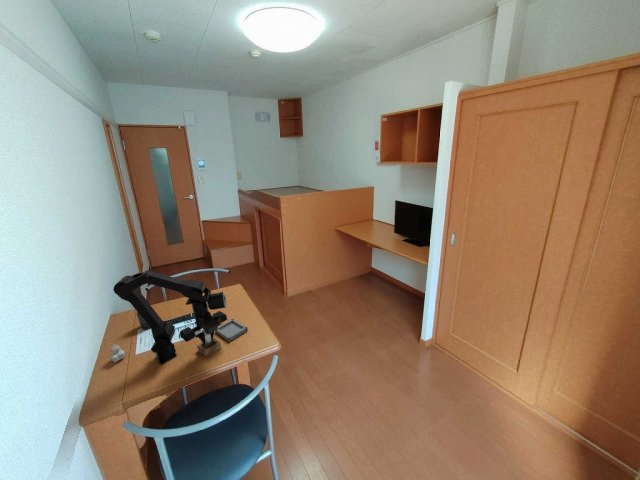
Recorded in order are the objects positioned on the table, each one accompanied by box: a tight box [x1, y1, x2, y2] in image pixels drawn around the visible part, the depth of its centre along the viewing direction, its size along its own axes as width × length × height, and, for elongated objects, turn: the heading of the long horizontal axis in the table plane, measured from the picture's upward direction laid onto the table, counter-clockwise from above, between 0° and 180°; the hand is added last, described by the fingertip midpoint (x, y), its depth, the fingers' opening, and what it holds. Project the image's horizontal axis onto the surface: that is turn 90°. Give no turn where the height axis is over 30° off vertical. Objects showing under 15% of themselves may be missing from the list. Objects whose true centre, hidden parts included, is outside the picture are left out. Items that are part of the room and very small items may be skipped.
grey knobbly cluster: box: [108, 343, 126, 363], centre depth 118 cm, size 5×7×8 cm
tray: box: [214, 318, 248, 343], centre depth 133 cm, size 10×12×2 cm
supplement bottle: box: [136, 311, 151, 330], centre depth 140 cm, size 7×7×12 cm
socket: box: [196, 337, 222, 358], centre depth 121 cm, size 7×7×3 cm
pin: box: [201, 329, 213, 349], centre depth 120 cm, size 3×3×10 cm
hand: (208, 341), depth 121 cm, fingers closed on pin, 3 cm apart
